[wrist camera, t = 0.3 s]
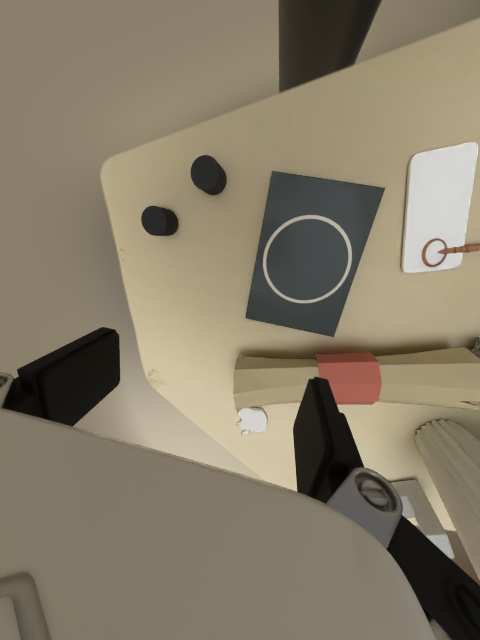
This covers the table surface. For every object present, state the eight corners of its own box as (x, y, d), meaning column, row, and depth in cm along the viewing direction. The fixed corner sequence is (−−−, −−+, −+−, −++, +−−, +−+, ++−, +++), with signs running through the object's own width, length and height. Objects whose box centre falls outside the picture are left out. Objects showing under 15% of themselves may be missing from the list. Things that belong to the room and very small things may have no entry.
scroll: (236, 340, 40) (229, 392, 33) (462, 328, 33) (516, 390, 26) (246, 375, 47) (242, 425, 40) (435, 371, 40) (472, 429, 33)
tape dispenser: (424, 499, 47) (416, 478, 46) (455, 558, 39) (446, 534, 37) (331, 509, 53) (322, 490, 52) (340, 562, 45) (329, 541, 43)
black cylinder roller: (201, 162, 34) (192, 153, 30) (228, 166, 33) (221, 157, 29) (199, 192, 35) (189, 187, 31) (224, 196, 35) (217, 192, 31)
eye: (155, 206, 37) (141, 203, 33) (179, 211, 36) (167, 208, 33) (154, 233, 38) (141, 233, 34) (177, 237, 38) (166, 237, 34)
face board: (272, 172, 33) (272, 170, 31) (382, 189, 31) (385, 187, 30) (246, 316, 41) (245, 318, 39) (332, 334, 39) (333, 337, 38)
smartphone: (480, 140, 27) (461, 267, 32) (475, 142, 28) (457, 267, 33) (411, 154, 29) (402, 274, 33) (407, 156, 30) (399, 273, 34)
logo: (270, 413, 46) (262, 441, 49) (270, 410, 46) (263, 438, 50) (238, 405, 46) (233, 433, 49) (239, 402, 47) (234, 430, 50)
